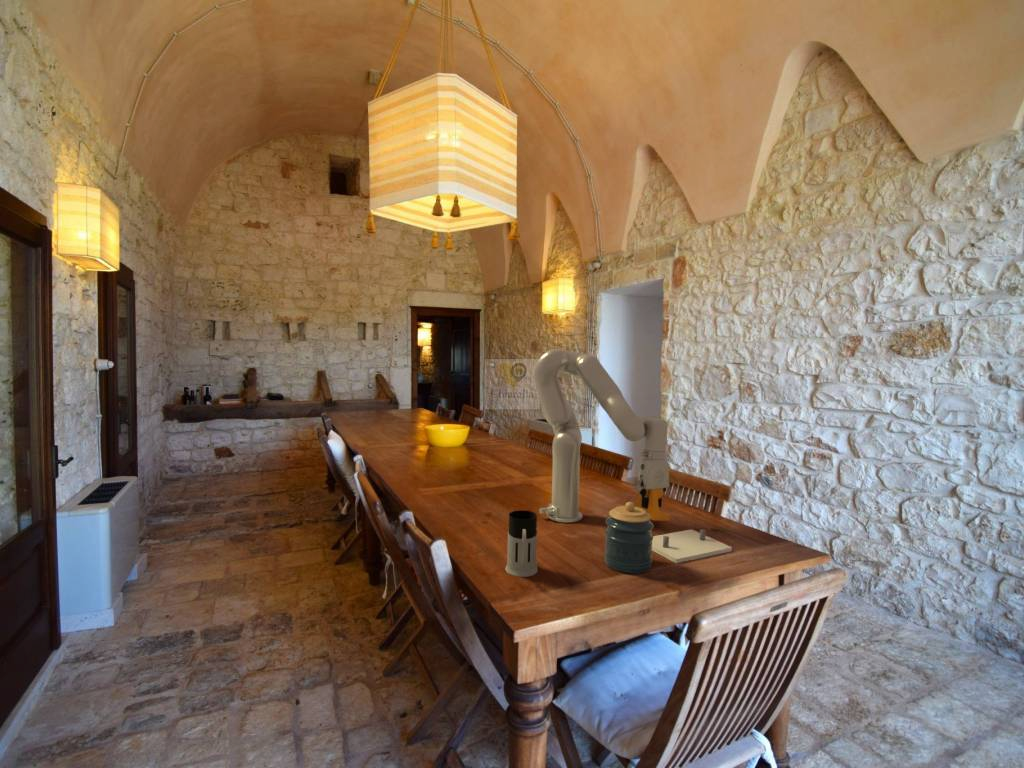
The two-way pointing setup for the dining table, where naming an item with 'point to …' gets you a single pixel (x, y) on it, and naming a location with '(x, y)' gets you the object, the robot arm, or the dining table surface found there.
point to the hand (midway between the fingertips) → (651, 506)
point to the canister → (629, 539)
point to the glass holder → (522, 543)
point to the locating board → (687, 545)
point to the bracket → (653, 505)
